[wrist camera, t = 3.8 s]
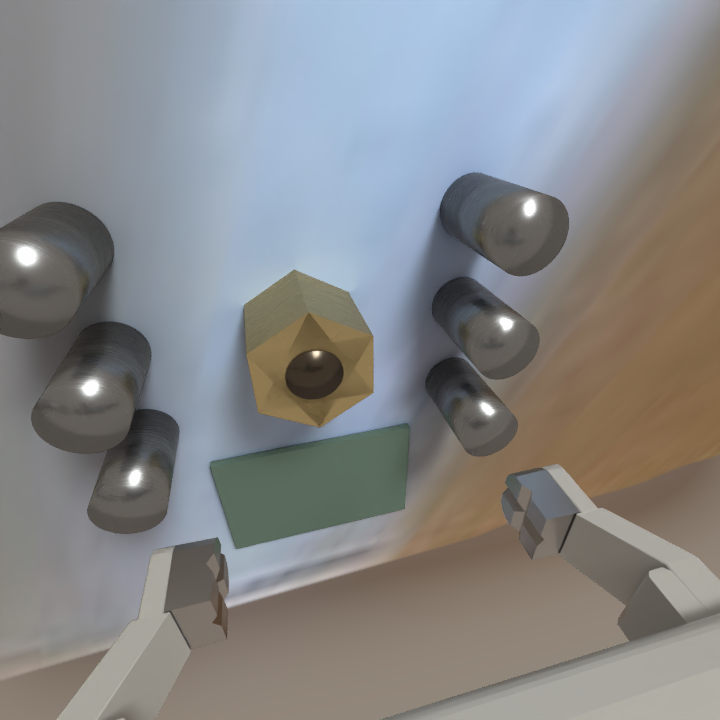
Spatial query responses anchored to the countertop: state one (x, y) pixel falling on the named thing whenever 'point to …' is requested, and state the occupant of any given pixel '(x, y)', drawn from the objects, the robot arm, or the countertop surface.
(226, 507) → the rubber mat
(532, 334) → the spacer rows
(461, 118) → the countertop surface
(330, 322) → the brass nut
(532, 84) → the countertop surface
